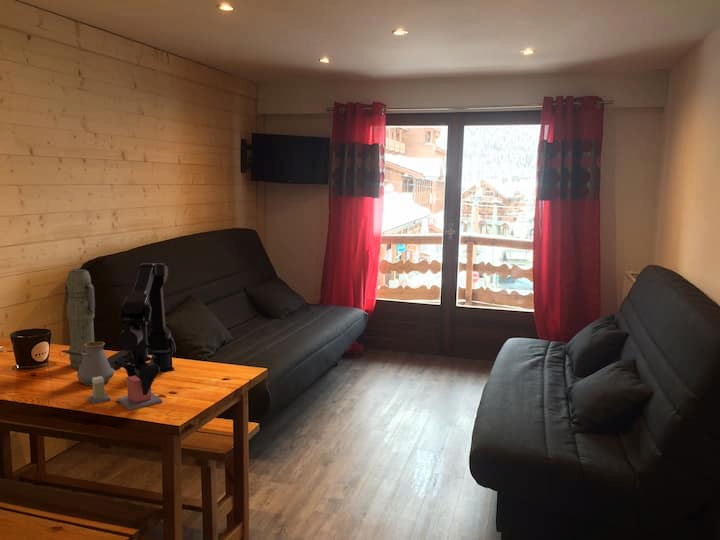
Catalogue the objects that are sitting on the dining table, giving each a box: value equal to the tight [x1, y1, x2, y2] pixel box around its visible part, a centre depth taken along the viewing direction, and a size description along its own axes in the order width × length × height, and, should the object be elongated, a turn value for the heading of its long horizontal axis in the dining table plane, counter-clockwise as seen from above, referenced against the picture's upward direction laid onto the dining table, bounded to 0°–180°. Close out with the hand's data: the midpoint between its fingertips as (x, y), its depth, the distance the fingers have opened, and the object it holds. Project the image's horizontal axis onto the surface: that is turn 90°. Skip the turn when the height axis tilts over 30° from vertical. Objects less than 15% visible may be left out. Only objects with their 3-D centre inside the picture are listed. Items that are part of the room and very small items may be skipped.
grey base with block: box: [87, 376, 111, 405], centre depth 179 cm, size 5×5×7 cm
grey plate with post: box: [116, 392, 163, 411], centre depth 178 cm, size 10×10×7 cm
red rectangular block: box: [126, 376, 152, 403], centre depth 178 cm, size 5×5×7 cm
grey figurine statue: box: [64, 268, 96, 370], centre depth 210 cm, size 9×12×35 cm
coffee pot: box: [58, 341, 115, 386], centre depth 190 cm, size 21×12×15 cm, turn 168°
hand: (139, 390), depth 178 cm, fingers open, 9 cm apart
